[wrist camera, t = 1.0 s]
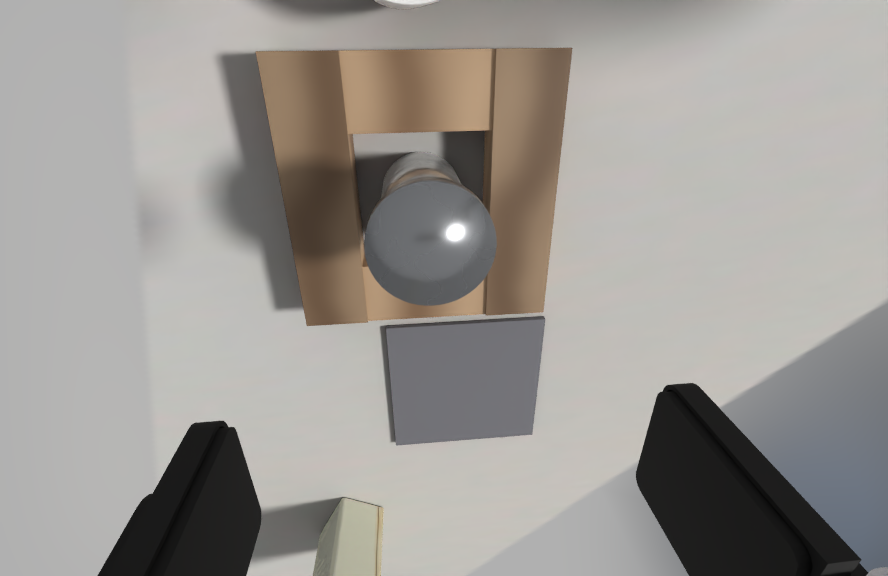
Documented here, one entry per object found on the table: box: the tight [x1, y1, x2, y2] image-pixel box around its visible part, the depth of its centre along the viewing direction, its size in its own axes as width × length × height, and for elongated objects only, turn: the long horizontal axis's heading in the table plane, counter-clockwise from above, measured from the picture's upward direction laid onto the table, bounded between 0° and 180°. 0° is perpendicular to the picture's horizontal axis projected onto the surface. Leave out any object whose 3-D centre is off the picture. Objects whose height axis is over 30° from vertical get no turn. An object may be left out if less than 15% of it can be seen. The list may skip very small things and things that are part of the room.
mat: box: [386, 316, 545, 445], centre depth 36 cm, size 12×12×1 cm
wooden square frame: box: [256, 48, 572, 326], centre depth 27 cm, size 16×16×3 cm
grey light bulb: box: [364, 152, 497, 306], centre depth 24 cm, size 6×6×10 cm
